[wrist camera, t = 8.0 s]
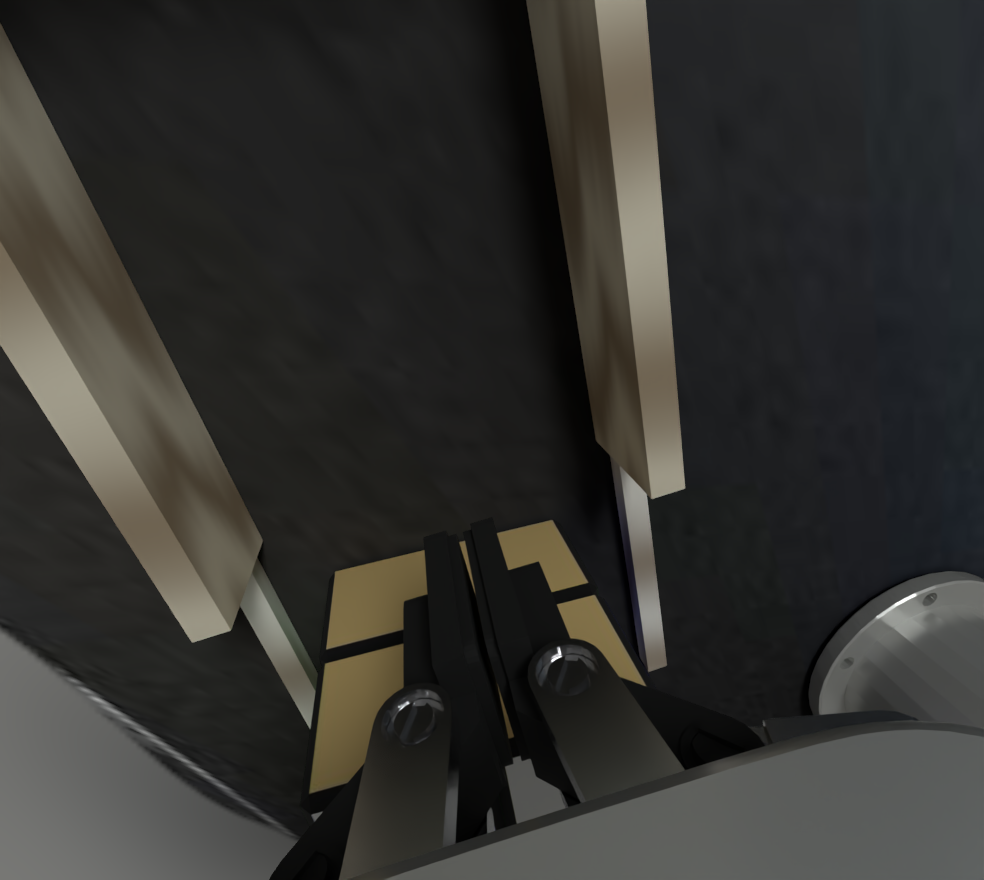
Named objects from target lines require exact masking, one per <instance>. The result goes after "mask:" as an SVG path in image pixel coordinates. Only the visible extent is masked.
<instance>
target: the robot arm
mask: <svg viewBox="0 0 984 880" xmlns="http://www.w3.org/2000/svg"><path fill="white" fill-rule="evenodd" d="M470 525H471V529H472V530H469V531H465V532H463V534H464V539H465V544H466V549H467V554H468V559H469V564H470V569H471V574H472V579H473V584H474V588H473V585H472V582H471V579H470V576H469V572H468V569H467V566H466V563H465V559H464V556H463V553H462V550H461V546H460V543H459V540H458V537H457V535H456V534H455V535H451V536H448V534H447V531H443V532H440V533H436V534H433V535H429V536H426V537H424V551H425V566H426V581H427V594H426V595H423V596H419V597H416V598H412V599H409V600H406V601H404V606H403V688H402V689H400V690H399V691H397V692H395V693H394V694H393V695H392V696H391V697H389V698H388V699H387V700H386V701H385V702H384V704H383V705H382V706H381V708H380V709H379V711H378V712H377V715H376V717H375V720H374V723H373V727H372V731H371V736H370V740H369V745H368V750H367V754H366V759H365V763H364V764H363V765H362V766H361V767H360V769H359V770H358V771H357V772H356V773H355V775H354V776H353V777H352V778H351V779H350V780H349V782H348V783H347V784H346V785H345V786H344V788H343V789H342V790H341V791H340V792H339V793H338V795H337V796H336V797H335V798H334V799H333V801H332V802H331V803H330V804H329V805H328V806H327V808H326V809H325V810H324V811H323V812H322V814H321V815H320V816H319V817H318V818H317V819H316V821H315V822H314V823H313V824H312V825H311V827H310V828H309V829H308V830H307V831H306V832H305V834H304V835H303V836H302V837H301V838H300V840H299V841H298V842H297V843H296V844H295V846H294V847H293V848H292V849H291V850H290V851H289V852H288V854H287V855H286V856H285V857H284V858H283V860H282V861H281V862H280V864H279V865H278V867H277V868H276V870H275V871H274V872H273V874H272V875H271V877H270V879H269V880H984V580H983V579H981V578H980V577H978V576H975V575H972V574H969V573H966V572H954V571H946V572H939V573H932V574H927V575H923V576H920V577H917V578H913V579H910V580H908V581H906V582H903V583H901V584H899V585H897V586H895V587H892V588H890V589H889V590H887V591H885V592H884V593H882V594H881V595H879V596H877V597H876V598H874V599H872V600H871V601H870V602H868V603H867V604H866V605H865V606H863V607H862V608H861V609H859V610H858V611H857V612H856V613H854V614H853V615H852V616H851V617H850V618H849V619H848V620H847V621H846V622H845V623H844V624H843V625H842V626H841V627H840V628H839V629H838V631H837V632H836V633H835V634H834V636H833V637H832V638H831V639H830V641H829V642H828V643H827V645H826V646H825V648H824V650H823V651H822V653H821V655H820V657H819V658H818V660H817V662H816V665H815V667H814V670H813V673H812V675H811V680H810V686H809V692H808V693H809V705H810V708H811V710H812V713H813V715H811V716H799V717H786V718H774V719H763V726H760V727H748V726H746V725H745V724H743V723H741V722H739V721H737V720H735V719H733V718H732V717H729V716H726V715H724V714H721V713H718V712H715V711H713V710H710V709H707V708H704V707H702V706H699V705H696V704H693V703H691V702H688V701H685V700H682V699H680V698H677V697H674V696H671V695H669V694H666V693H663V692H660V691H658V690H655V689H652V688H649V687H647V686H644V685H641V684H638V683H636V682H633V681H630V680H628V679H625V678H622V677H619V676H618V674H617V673H616V672H615V670H614V669H613V667H612V666H611V664H610V663H609V662H608V660H607V659H606V657H605V656H604V655H603V653H602V652H601V651H600V650H599V649H598V648H597V647H596V646H595V645H593V644H591V643H589V642H587V641H585V640H580V639H575V638H570V636H569V633H568V631H567V628H566V626H565V623H564V621H563V618H562V616H561V614H560V611H559V609H558V606H557V604H556V601H555V599H554V596H553V594H552V592H551V589H550V587H549V584H548V582H547V579H546V577H545V574H544V572H543V570H542V567H541V565H540V563H539V561H538V562H534V563H531V564H528V565H524V566H521V567H517V568H514V569H511V570H508V567H507V564H506V561H505V558H504V554H503V551H502V548H501V545H500V541H499V538H498V535H497V532H496V529H495V525H494V522H493V519H492V518H488V519H485V520H481V521H478V522H474V523H471V524H470ZM474 589H475V592H474ZM475 594H476V595H475ZM497 684H498V685H497ZM498 687H499V689H498ZM499 690H500V694H501V697H502V700H503V703H504V706H505V709H506V713H507V716H508V719H509V722H510V725H511V728H512V732H513V735H514V738H515V741H516V744H517V747H518V751H519V754H520V757H521V760H522V761H525V760H528V759H531V762H532V765H533V768H534V772H535V775H536V777H537V778H539V779H541V780H543V781H545V782H547V783H548V784H550V785H552V786H554V787H556V788H558V789H559V791H560V795H561V798H562V801H563V804H564V806H565V809H562V810H558V811H555V812H552V813H549V814H546V815H543V816H540V817H537V818H533V819H530V820H527V821H524V822H521V823H518V824H515V825H512V826H509V827H505V828H502V829H499V830H496V831H494V818H493V812H492V809H491V806H492V805H493V803H494V801H495V800H496V798H497V796H498V795H499V793H500V792H501V790H502V788H503V787H505V786H508V785H507V780H506V774H505V769H504V767H506V766H509V765H512V764H513V757H512V752H511V747H510V743H509V738H508V733H507V728H506V723H505V718H504V714H503V709H502V704H501V699H500V694H499Z"/></svg>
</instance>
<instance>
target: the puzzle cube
mask: <svg viewBox="0 0 984 880" xmlns="http://www.w3.org/2000/svg"><path fill="white" fill-rule="evenodd" d="M497 535H498V538H499V541H500V545H501V548H502V551H503V554H504V558H505V561H506V564H507V567H508V570H511V569H514V568H517V567H521V566H524V565H528V564H531V563H534V562H538V561H539V563H540V565H541V567H542V570H543V572H544V574H545V577H546V579H547V582H548V584H549V587H550V589H551V592H552V594H553V596H554V599H555V601H556V604H557V606H558V609H559V611H560V614H561V616H562V618H563V621H564V623H565V626H566V628H567V631H568V633H569V636H570V638H575V639H580V640H585V641H587V642H589V643H591V644H593V645H595V646H596V647H597V648H598V649H599V650H600V651H601V652H602V653H603V655H604V656H605V657H606V659H607V660H608V662H609V663H610V664H611V666H612V667H613V669H614V670H615V672H616V673H617V674H618V676H619V677H622V678H625V679H628V680H630V681H633V682H636V683H638V684H641V685H644V686H647V687H649V688H652V689H655V690H657V689H656V687H655V685H654V684H653V682H652V680H651V679H650V677H649V675H648V673H647V672H646V670H645V668H644V667H643V665H642V663H641V661H640V660H639V658H638V656H637V655H636V653H635V651H634V649H633V648H632V646H631V644H630V643H629V641H628V639H627V637H626V636H625V634H624V632H623V631H622V629H621V627H620V625H619V624H618V622H617V620H616V619H615V617H614V615H613V613H612V612H611V610H610V608H609V607H608V605H607V603H606V601H605V600H604V599H602V598H601V597H599V596H598V587H597V585H596V584H595V582H594V580H593V579H592V577H591V575H590V574H589V572H588V570H587V569H586V567H585V565H584V564H583V562H582V560H581V558H580V557H579V555H578V553H577V552H576V550H575V548H574V547H573V545H572V543H571V542H570V540H569V538H568V537H567V535H566V533H565V531H564V530H563V528H562V526H561V525H560V524H559V523H557V522H556V521H554V520H549V521H544V522H540V523H536V524H532V525H528V526H524V527H520V528H515V529H511V530H507V531H503V532H499V533H497ZM459 543H460V546H461V550H462V553H463V556H464V559H465V563H466V566H467V569H468V572H469V576H470V579H471V582H472V585H473V588H474V584H473V579H472V574H471V569H470V564H469V559H468V554H467V549H466V544H465V541H461V542H459ZM474 592H475V589H474ZM426 594H427V581H426V566H425V551H424V550H423V551H418V552H414V553H410V554H406V555H402V556H398V557H394V558H389V559H385V560H381V561H377V562H373V563H369V564H364V565H360V566H356V567H352V568H348V569H344V570H340V571H335V573H334V574H333V575H332V577H331V578H330V581H329V588H328V596H327V604H326V612H325V620H324V627H323V635H322V643H321V651H320V658H319V659H320V662H321V664H322V668H321V670H320V671H319V672H318V677H317V684H316V691H315V699H314V706H313V713H312V721H311V728H310V735H309V743H308V750H307V757H306V765H305V772H304V779H303V787H302V794H301V801H300V807H301V809H302V811H303V814H304V816H305V818H306V820H307V822H308V824H309V826H310V827H311V825H312V824H313V823H314V822H315V821H316V819H317V818H318V817H319V816H320V815H321V814H322V812H323V811H324V810H325V809H326V808H327V806H328V805H329V804H330V803H331V802H332V801H333V799H334V798H335V797H336V796H337V795H338V793H339V792H340V791H341V790H342V789H343V788H344V786H345V785H346V784H347V783H348V782H349V780H350V779H351V778H352V777H353V776H354V775H355V773H356V772H357V771H358V770H359V769H360V767H361V766H362V765H363V764H364V763H365V759H366V754H367V750H368V745H369V740H370V736H371V731H372V727H373V723H374V720H375V717H376V715H377V712H378V711H379V709H380V708H381V706H382V705H383V704H384V702H385V701H386V700H387V699H388V698H389V697H391V696H392V695H393V694H394V693H395V692H397V691H399V690H400V689H402V688H403V606H404V601H406V600H409V599H412V598H416V597H419V596H423V595H426ZM475 595H476V594H475ZM497 685H498V684H497ZM498 689H499V687H498ZM499 694H500V690H499ZM500 699H501V704H502V709H503V714H504V718H505V723H506V728H507V733H508V738H509V743H510V747H511V752H512V757H513V764H512V765H509V766H506V767H504V769H505V774H506V780H507V785H508V786H505V787H503V788H502V790H501V792H500V793H499V795H498V796H497V798H496V800H495V801H494V803H493V805H492V806H491V809H492V812H493V818H494V831H496V830H499V829H502V828H505V827H509V826H512V825H515V824H518V823H521V822H524V821H527V820H530V819H533V818H537V817H540V816H543V815H546V814H549V813H552V812H555V811H558V810H562V809H565V806H564V804H563V801H562V798H561V795H560V791H559V789H558V788H556V787H554V786H552V785H550V784H548V783H547V782H545V781H543V780H541V779H539V778H537V777H536V775H535V772H534V768H533V765H532V762H531V759H528V760H525V761H522V760H521V757H520V754H519V751H518V747H517V744H516V741H515V738H514V735H513V732H512V728H511V725H510V722H509V719H508V716H507V713H506V709H505V706H504V703H503V700H502V697H501V694H500Z"/></svg>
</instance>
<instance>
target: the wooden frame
mask: <svg viewBox="0 0 984 880" xmlns="http://www.w3.org/2000/svg"><path fill="white" fill-rule="evenodd" d="M526 3H527V9H528V15H529V22H530V28H531V34H532V41H533V47H534V53H535V59H536V66H537V72H538V78H539V85H540V91H541V97H542V104H543V110H544V116H545V122H546V129H547V135H548V141H549V148H550V154H551V160H552V167H553V173H554V179H555V185H556V192H557V198H558V204H559V211H560V217H561V223H562V230H563V236H564V242H565V249H566V255H567V261H568V267H569V274H570V280H571V286H572V293H573V299H574V305H575V312H576V318H577V324H578V330H579V337H580V343H581V349H582V356H583V362H584V368H585V375H586V381H587V387H588V393H589V400H590V406H591V412H592V419H593V425H594V431H595V438H596V441H597V442H598V443H599V444H600V445H601V446H602V448H603V449H604V450H605V451H606V452H607V453H608V454H609V455H610V459H611V466H612V473H613V480H614V486H615V493H616V500H617V507H618V513H619V520H620V527H621V534H622V540H623V547H624V554H625V561H626V567H627V574H628V581H629V588H630V594H631V601H632V608H633V615H634V622H635V628H636V635H637V642H638V649H639V655H640V658H641V660H642V662H643V663H644V665H645V667H646V668H647V670H648V672H649V671H652V670H655V669H658V668H661V667H664V666H667V662H666V653H665V645H664V637H663V628H662V620H661V611H660V603H659V594H658V586H657V577H656V569H655V561H654V552H653V544H652V535H651V527H650V518H649V510H648V501H647V495H648V496H649V497H650V498H651V499H653V498H657V497H660V496H663V495H666V494H669V493H673V492H676V491H679V490H682V489H685V481H684V469H683V456H682V444H681V432H680V419H679V407H678V395H677V382H676V370H675V358H674V345H673V333H672V321H671V308H670V296H669V284H668V271H667V259H666V247H665V235H664V222H663V210H662V198H661V185H660V173H659V161H658V148H657V136H656V124H655V111H654V99H653V87H652V74H651V62H650V50H649V37H648V25H647V13H646V0H526ZM0 345H1V347H2V348H3V350H4V351H5V353H6V354H7V356H8V357H9V359H10V361H11V362H12V364H13V365H14V367H15V368H16V370H17V371H18V373H19V374H20V376H21V378H22V379H23V381H24V382H25V384H26V385H27V387H28V388H29V390H30V392H31V393H32V395H33V396H34V398H35V399H36V401H37V402H38V404H39V406H40V407H41V409H42V410H43V412H44V413H45V415H46V416H47V418H48V420H49V421H50V423H51V424H52V426H53V427H54V429H55V430H56V432H57V433H58V435H59V437H60V438H61V440H62V441H63V443H64V444H65V446H66V447H67V449H68V451H69V452H70V454H71V455H72V457H73V458H74V460H75V461H76V463H77V465H78V466H79V468H80V469H81V471H82V472H83V474H84V475H85V477H86V479H87V480H88V482H89V483H90V485H91V486H92V488H93V489H94V491H95V492H96V494H97V496H98V497H99V499H100V500H101V502H102V503H103V505H104V506H105V508H106V510H107V511H108V513H109V514H110V516H111V517H112V519H113V520H114V522H115V524H116V525H117V527H118V528H119V530H120V531H121V533H122V534H123V536H124V538H125V539H126V541H127V542H128V544H129V545H130V547H131V548H132V550H133V551H134V553H135V555H136V556H137V558H138V559H139V561H140V562H141V564H142V565H143V567H144V569H145V570H146V572H147V573H148V575H149V576H150V578H151V579H152V581H153V583H154V584H155V586H156V587H157V589H158V590H159V592H160V593H161V595H162V597H163V598H164V600H165V601H166V603H167V604H168V606H169V607H170V609H171V610H172V612H173V614H174V615H175V617H176V618H177V620H178V621H179V623H180V624H181V626H182V628H183V629H184V631H185V632H186V634H187V635H188V637H189V638H190V640H191V642H192V643H193V642H196V641H199V640H202V639H206V638H209V637H212V636H215V635H218V634H222V633H225V632H228V631H231V629H232V627H233V624H234V621H235V618H236V615H237V612H238V610H239V607H241V608H242V610H243V612H244V614H245V615H246V617H247V619H248V621H249V623H250V624H251V626H252V628H253V630H254V631H255V633H256V635H257V637H258V638H259V640H260V642H261V644H262V645H263V647H264V649H265V651H266V652H267V654H268V656H269V658H270V660H271V661H272V663H273V665H274V667H275V668H276V670H277V672H278V674H279V675H280V677H281V679H282V681H283V682H284V684H285V686H286V688H287V689H288V691H289V693H290V695H291V697H292V698H293V700H294V702H295V704H296V705H297V707H298V709H299V711H300V712H301V714H302V716H303V718H304V719H305V721H306V723H307V725H308V726H309V728H311V721H312V713H313V706H314V699H315V691H316V684H317V677H318V673H317V671H316V669H315V667H314V665H313V663H312V661H311V659H310V657H309V656H308V654H307V652H306V650H305V648H304V646H303V644H302V642H301V640H300V638H299V636H298V634H297V633H296V631H295V629H294V627H293V625H292V623H291V621H290V619H289V617H288V615H287V613H286V612H285V610H284V608H283V606H282V604H281V602H280V600H279V598H278V596H277V594H276V592H275V590H274V589H273V587H272V585H271V583H270V581H269V579H268V577H267V575H266V573H265V571H264V569H263V567H262V566H261V564H260V562H259V560H258V558H257V556H258V553H259V551H260V548H261V545H262V542H263V540H262V538H261V536H260V534H259V532H258V530H257V528H256V526H255V524H254V522H253V520H252V518H251V516H250V514H249V512H248V510H247V508H246V506H245V504H244V502H243V500H242V498H241V496H240V494H239V492H238V490H237V488H236V486H235V484H234V482H233V480H232V478H231V477H230V475H229V473H228V471H227V469H226V467H225V465H224V463H223V461H222V459H221V457H220V455H219V453H218V451H217V449H216V447H215V445H214V443H213V441H212V439H211V437H210V435H209V433H208V431H207V429H206V427H205V425H204V423H203V421H202V419H201V417H200V415H199V413H198V411H197V410H196V408H195V406H194V404H193V402H192V400H191V398H190V396H189V394H188V392H187V390H186V388H185V386H184V384H183V382H182V380H181V378H180V376H179V374H178V372H177V370H176V368H175V366H174V364H173V362H172V360H171V358H170V356H169V354H168V352H167V350H166V348H165V346H164V344H163V343H162V341H161V339H160V337H159V335H158V333H157V331H156V329H155V327H154V325H153V323H152V321H151V319H150V317H149V315H148V313H147V311H146V309H145V307H144V305H143V303H142V301H141V299H140V297H139V295H138V293H137V291H136V289H135V287H134V285H133V283H132V281H131V279H130V277H129V276H128V274H127V272H126V270H125V268H124V266H123V264H122V262H121V260H120V258H119V256H118V254H117V252H116V250H115V248H114V246H113V244H112V242H111V240H110V238H109V236H108V234H107V232H106V230H105V228H104V226H103V224H102V222H101V220H100V218H99V216H98V214H97V212H96V211H95V209H94V207H93V205H92V203H91V201H90V199H89V197H88V195H87V193H86V191H85V189H84V187H83V185H82V183H81V181H80V179H79V177H78V175H77V173H76V171H75V169H74V167H73V165H72V163H71V161H70V159H69V157H68V155H67V153H66V151H65V149H64V147H63V145H62V144H61V142H60V140H59V138H58V136H57V134H56V132H55V130H54V128H53V126H52V124H51V122H50V120H49V118H48V116H47V114H46V112H45V110H44V108H43V106H42V104H41V102H40V100H39V98H38V96H37V94H36V92H35V90H34V88H33V86H32V84H31V82H30V80H29V78H28V77H27V75H26V73H25V71H24V69H23V67H22V65H21V63H20V61H19V59H18V57H17V55H16V53H15V51H14V49H13V47H12V45H11V43H10V41H9V39H8V37H7V35H6V33H5V31H4V29H3V27H2V25H1V23H0Z"/></svg>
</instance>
